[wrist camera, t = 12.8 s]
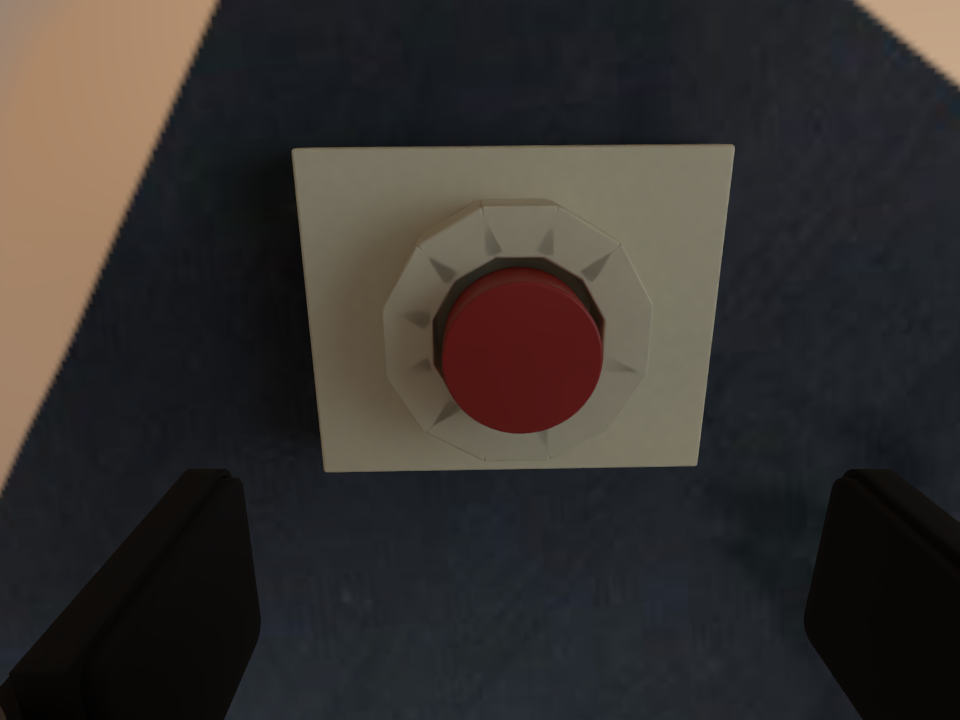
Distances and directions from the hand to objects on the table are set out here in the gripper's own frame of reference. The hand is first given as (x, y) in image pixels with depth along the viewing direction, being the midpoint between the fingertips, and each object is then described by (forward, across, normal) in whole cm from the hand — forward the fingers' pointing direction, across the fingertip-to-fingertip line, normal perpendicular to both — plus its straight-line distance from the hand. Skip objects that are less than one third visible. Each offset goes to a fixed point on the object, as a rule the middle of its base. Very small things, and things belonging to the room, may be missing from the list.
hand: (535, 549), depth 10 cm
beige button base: (+10, 0, -2) cm, 10 cm away
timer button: (+6, 0, -1) cm, 7 cm away
